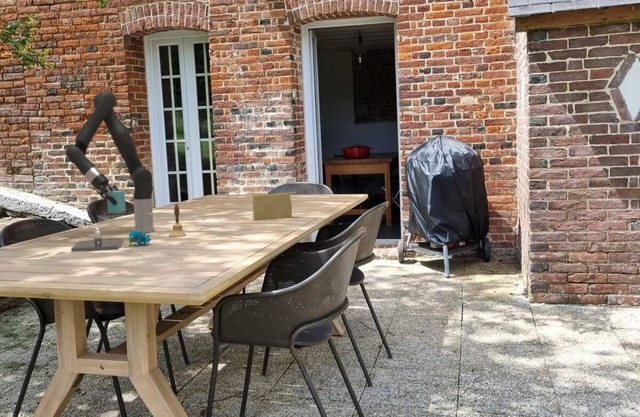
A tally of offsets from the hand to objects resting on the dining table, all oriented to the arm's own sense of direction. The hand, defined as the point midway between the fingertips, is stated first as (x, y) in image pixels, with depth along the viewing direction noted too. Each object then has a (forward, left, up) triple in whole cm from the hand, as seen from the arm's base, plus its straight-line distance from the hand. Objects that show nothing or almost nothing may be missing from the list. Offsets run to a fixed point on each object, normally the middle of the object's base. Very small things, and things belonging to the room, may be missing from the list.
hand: (119, 203), depth 339 cm
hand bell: (-27, -7, -18) cm, 33 cm away
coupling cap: (+2, -1, -4) cm, 5 cm away
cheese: (-78, -54, -18) cm, 97 cm away
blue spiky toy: (-10, +17, -18) cm, 27 cm away
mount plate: (+8, +16, -18) cm, 26 cm away
